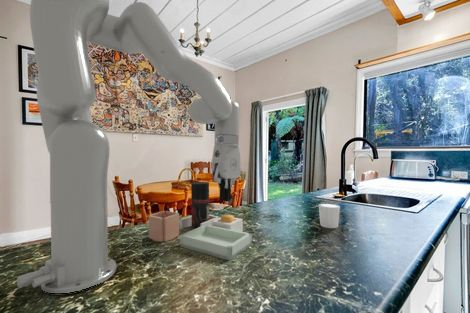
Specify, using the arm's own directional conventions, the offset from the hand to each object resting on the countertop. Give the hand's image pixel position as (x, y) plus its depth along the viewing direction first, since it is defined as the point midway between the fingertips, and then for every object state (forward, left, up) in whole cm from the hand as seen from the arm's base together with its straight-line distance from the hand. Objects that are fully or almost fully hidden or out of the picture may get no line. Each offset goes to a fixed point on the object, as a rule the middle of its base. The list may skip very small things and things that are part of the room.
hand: (225, 200), depth 72 cm
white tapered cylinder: (+25, -26, -11) cm, 38 cm away
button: (+1, 0, -10) cm, 9 cm away
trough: (-9, -3, -10) cm, 14 cm away
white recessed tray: (+1, +6, -10) cm, 12 cm away
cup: (-12, +14, -10) cm, 21 cm away
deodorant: (+1, +11, -11) cm, 15 cm away
